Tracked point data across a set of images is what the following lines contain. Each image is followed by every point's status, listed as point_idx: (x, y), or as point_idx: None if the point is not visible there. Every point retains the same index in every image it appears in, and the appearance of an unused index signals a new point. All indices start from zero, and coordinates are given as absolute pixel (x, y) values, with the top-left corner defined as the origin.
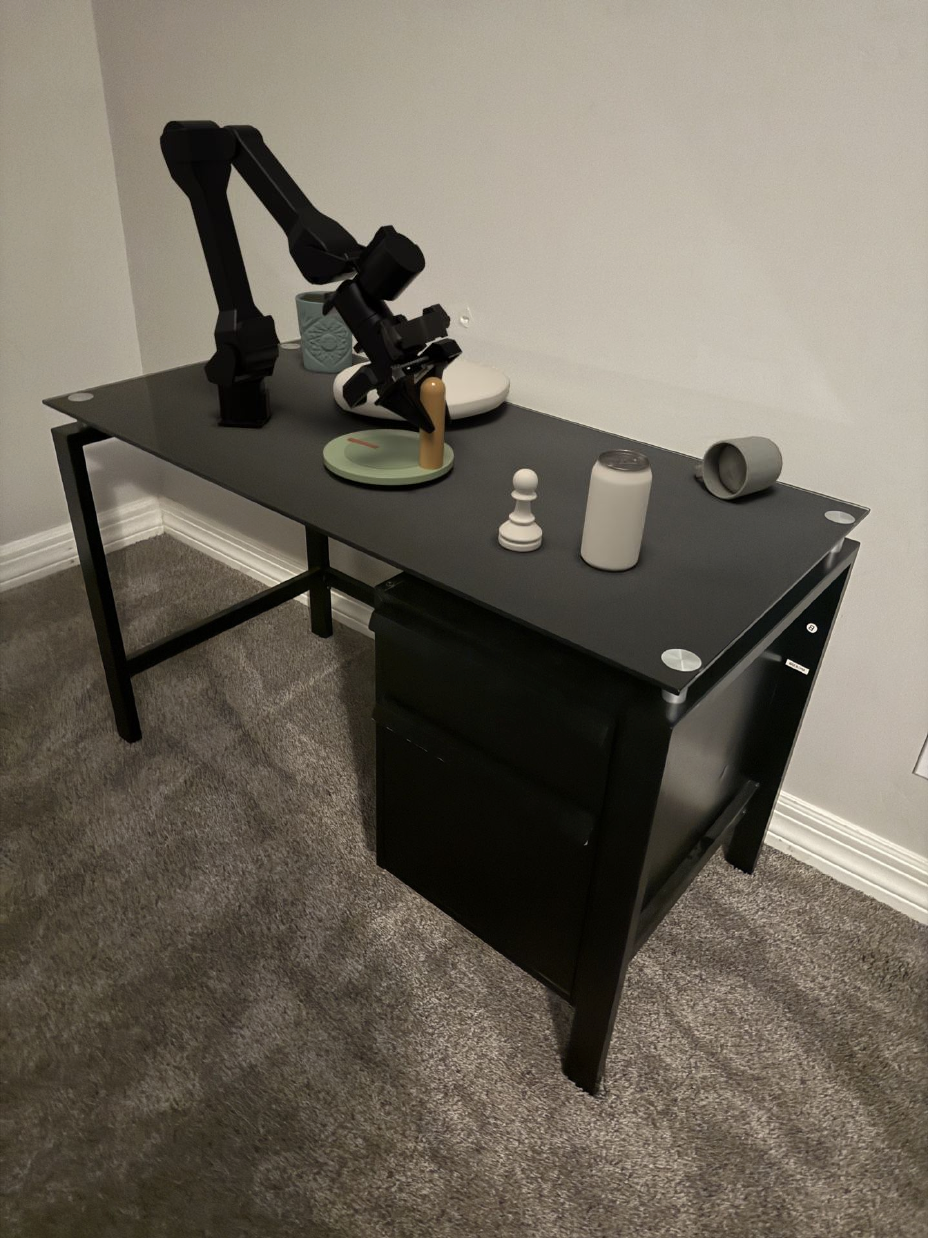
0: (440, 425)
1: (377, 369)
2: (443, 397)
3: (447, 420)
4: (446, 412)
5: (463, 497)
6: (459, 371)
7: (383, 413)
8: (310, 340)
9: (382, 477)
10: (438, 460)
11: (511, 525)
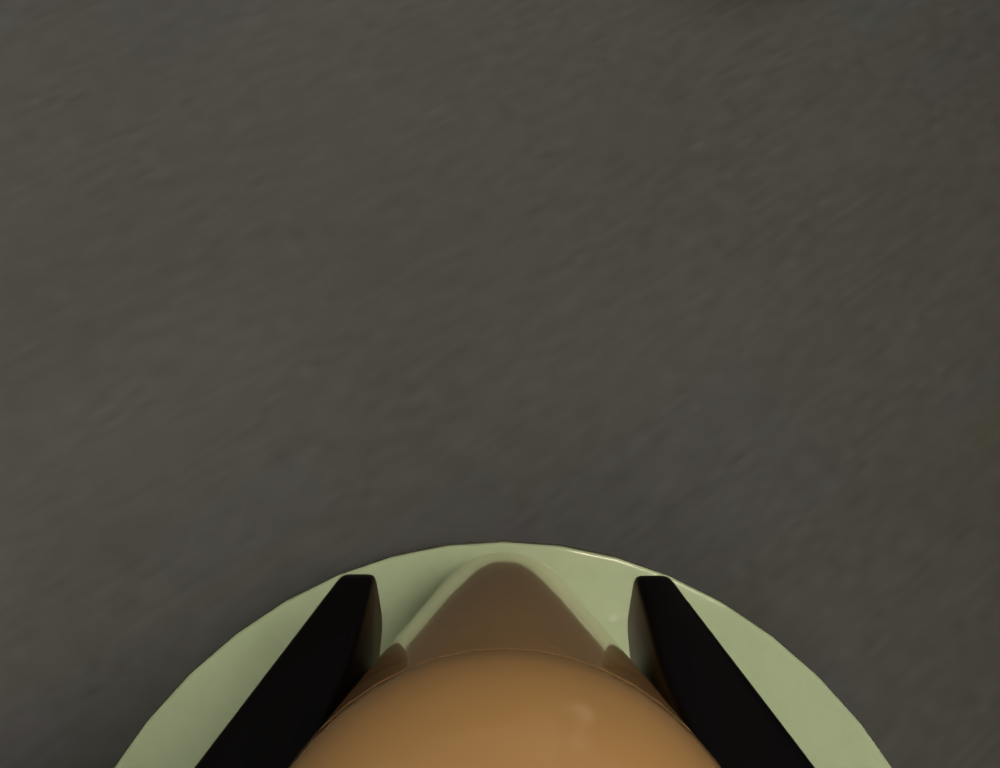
0: (535, 586)
1: None
2: (502, 636)
3: (370, 610)
4: (341, 652)
5: (583, 338)
6: None
7: None
8: None
9: (881, 761)
10: (531, 560)
11: None
